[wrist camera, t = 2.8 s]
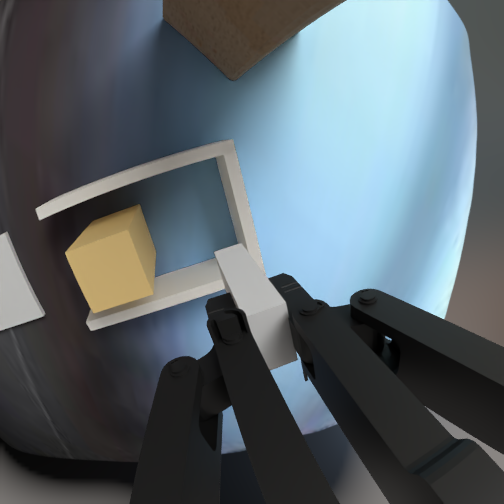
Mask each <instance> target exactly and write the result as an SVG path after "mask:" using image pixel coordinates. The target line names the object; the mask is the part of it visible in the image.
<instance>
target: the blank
mask: <svg viewBox="0 0 504 504" xmlns="http://www.w3.org/2000/svg"><path fill="white" fill-rule="evenodd" d="M65 254H66V257H67V259H68V261H69V264H70V266H71V268H72V270H73V273H74V275H75V277H76V279H77V281H78V283H79V285H80V288H81V290H82V292H83V294H84V296H85V298H86V300H87V302H88V304H89V306H90V308H91V310H92V312H93V313H97V312H100V311H103V310H106V309H109V308H112V307H115V306H119V305H122V304H125V303H128V302H131V301H134V300H137V299H140V298H144V297H147V296H150V295H153V294H154V276H155V262H156V250H155V247H154V244H153V241H152V239H151V236H150V233H149V230H148V227H147V224H146V221H145V218H144V215H143V212H142V209H141V206H140V204H138V205H135V206H132V207H129V208H126V209H124V210H121V211H118V212H115V213H113V214H110V215H107V216H104V217H102V218H99V219H97V220H94V221H92V222H91V223H90V225H89V226H88V227H87V228H86V229H85V230H84V231H83V232H82V234H81V235H80V236H79V237H78V238H77V239H76V240H75V242H74V243H73V244H72V245H71V246H70V248H69V249H68V250H67V251H66V252H65Z"/></svg>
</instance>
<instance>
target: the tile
mask: <svg viewBox="0 0 504 504" xmlns="http://www.w3.org/2000/svg"><path fill="white" fill-rule="evenodd" d="M44 315H45V312H44V310H43V308H42V307H41V305H40V303H39V301H38V299H37V297H36V295H35V293H34V291H33V289H32V287H31V285H30V283H29V281H28V279H27V277H26V275H25V272H24V270H23V268H22V266H21V264H20V261H19V259H18V257H17V254H16V252H15V250H14V247H13V245H12V242H11V240H10V237H9V234H8V232H5V233H3V234H1V235H0V331H1V330H4V329H7V328H10V327H13V326H16V325H19V324H22V323H25V322H28V321H31V320H34V319H37V318H40V317H43V316H44Z"/></svg>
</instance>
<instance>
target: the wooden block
mask: <svg viewBox="0 0 504 504" xmlns="http://www.w3.org/2000/svg"><path fill="white" fill-rule="evenodd" d="M344 1H346V0H163V18H164V20H165V21H166V22H168V23H169V24H170V25H171V26H172V27H173V28H175V29H176V30H177V31H178V32H179V33H180V34H181V35H183V36H184V37H185V38H186V39H187V40H188V41H189V42H190V43H192V44H193V45H194V46H195V47H196V48H197V49H198V50H199V51H200V52H201V53H203V54H204V55H205V56H206V57H207V58H208V59H209V60H210V61H211V62H212V63H213V64H214V65H215V66H216V67H217V68H218V69H219V70H220V71H221V72H223V73H224V74H225V75H226V76H227V77H228V78H229V79H230V80H232V81H234V80H237V79H238V78H239V77H241V76H242V75H243V74H244V73H245V72H247V71H248V70H249V69H250V68H252V67H253V66H254V65H255V64H257V63H258V62H259V61H260V60H262V59H263V58H264V57H265V56H267V55H268V54H269V53H271V52H272V51H273V50H275V49H276V48H277V47H279V46H280V45H281V44H283V43H284V42H285V41H287V40H288V39H289V38H291V37H292V36H294V35H295V34H296V33H298V32H299V31H301V30H302V29H303V28H305V27H306V26H308V25H309V24H311V23H312V22H314V21H315V20H316V19H318V18H319V17H321V16H322V15H324V14H325V13H327V12H329V11H330V10H332V9H333V8H335V7H336V6H338V5H340V4H341V3H343V2H344Z"/></svg>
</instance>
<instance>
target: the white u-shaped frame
mask: <svg viewBox="0 0 504 504" xmlns="http://www.w3.org/2000/svg"><path fill="white" fill-rule="evenodd" d="M214 157H215V158H216V161H217V165H218V169H219V173H220V177H221V181H222V185H223V188H224V192H225V196H226V200H227V204H228V207H229V211H230V215H231V219H232V223H233V226H234V230H235V234H236V238H237V241H238V244H240V243H242V245H243V246H244V247H245V249H246V250H247V251H248V253H249V254H250V255H251V257H252V258H253V259H254V261H255V262H256V263H257V265H258V266H259V267H260V269H261V270H262V271H263V273H264V274H265V275H266V273H265V269H264V265H263V261H262V256H261V252H260V248H259V244H258V240H257V236H256V231H255V227H254V223H253V219H252V215H251V211H250V206H249V202H248V198H247V194H246V190H245V186H244V182H243V178H242V174H241V169H240V165H239V161H238V157H237V153H236V149H235V145H234V141H233V139H230V140H221V141H217V142H213V143H209V144H206V145H202V146H199V147H195V148H192V149H188V150H185V151H181V152H178V153H175V154H171V155H168V156H165V157H162V158H159V159H156V160H153V161H150V162H147V163H144V164H141V165H138V166H135V167H132V168H129V169H126V170H124V171H121V172H118V173H115V174H113V175H110V176H107V177H105V178H102V179H99V180H97V181H94V182H92V183H89V184H87V185H84V186H82V187H80V188H77V189H75V190H72V191H70V192H68V193H65V194H63V195H61V196H58V197H56V198H54V199H52V200H50V201H49V202H47V203H45V204H43V205H41V206H40V207H38V208H36V212H37V215H38V218H39V220H41V219H43V218H45V217H48V216H50V215H52V214H54V213H57V212H59V211H61V210H64V209H66V208H69V207H71V206H73V205H76V204H78V203H81V202H83V201H86V200H88V199H91V198H93V197H96V196H98V195H101V194H104V193H106V192H109V191H112V190H114V189H117V188H120V187H122V186H125V185H128V184H131V183H134V182H137V181H139V180H142V179H145V178H148V177H151V176H154V175H157V174H160V173H163V172H167V171H170V170H173V169H176V168H179V167H183V166H186V165H189V164H193V163H196V162H199V161H203V160H206V159H210V158H214ZM223 289H225V286H224V283H223V280H222V277H221V274H220V270H219V267H218V264H217V261H216V258H213V259H210V260H207V261H204V262H200V263H197V264H194V265H191V266H188V267H185V268H182V269H179V270H176V271H173V272H170V273H167V274H164V275H161V276H158V277H154V294H153V295H150V296H147V297H144V298H140V299H137V300H134V301H131V302H128V303H125V304H122V305H119V306H115V307H112V308H109V309H106V310H103V311H100V312H97V313H93V312H92V310H90V313H89V316H88V318H87V321H86V323H87V325H88V327H89V329H90V330H91V331H93V330H96V329H100V328H103V327H106V326H110V325H113V324H116V323H119V322H123V321H126V320H129V319H132V318H136V317H139V316H142V315H145V314H149V313H152V312H155V311H158V310H161V309H164V308H168V307H171V306H174V305H177V304H180V303H183V302H186V301H189V300H192V299H196V298H199V297H202V296H205V295H208V294H211V293H214V292H217V291H220V290H223Z"/></svg>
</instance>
